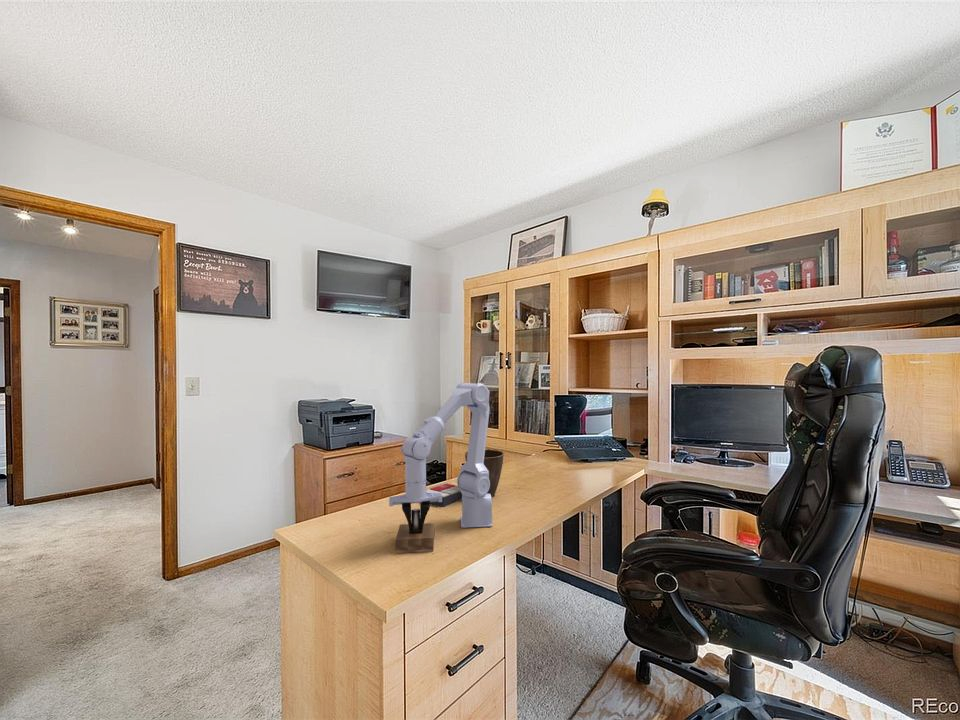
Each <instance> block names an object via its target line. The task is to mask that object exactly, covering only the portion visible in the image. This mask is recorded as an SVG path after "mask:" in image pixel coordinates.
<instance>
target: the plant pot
mask: <svg viewBox="0 0 960 720" xmlns="http://www.w3.org/2000/svg"><path fill="white" fill-rule="evenodd" d="M467 454H468V451H466V452H465V453H464V457H465V463H466V462H467ZM504 455H505V454H504V452H503V451H501V450H496V449H485V456H484V465H485V467H486V468H487V470H488V471H489V481H490V488H489V490H488V492H487V494H491V498H493V497H495V496H496V492H497V489H498V485H499V483H500V479H501V474H502V469H503V462H504Z"/></svg>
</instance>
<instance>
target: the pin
mask: <svg viewBox="0 0 960 720" xmlns="http://www.w3.org/2000/svg"><path fill="white" fill-rule="evenodd" d="M411 524H412V534H420V508H413V509H411Z"/></svg>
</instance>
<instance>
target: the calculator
mask: <svg viewBox="0 0 960 720" xmlns="http://www.w3.org/2000/svg"><path fill="white" fill-rule="evenodd" d="M426 493H441V494H442V502H430V505H431V504H432V506H434V505H435V507H438V506H439V507H440V508H442V507H443V508H446V507H447V506H449V505H451V504H453V503H456V502H458V501H462V493H461V489H459V487H458V485H456V484H451V483H444V484H440V485H437V486H434V487H431V488H429V489H426Z"/></svg>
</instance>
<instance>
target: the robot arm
mask: <svg viewBox="0 0 960 720" xmlns="http://www.w3.org/2000/svg"><path fill="white" fill-rule="evenodd" d="M490 392H491V391H490V390H489V389H488V387H487V386H486V385H485V384H484V383H482V382H479V383H470V382H469V383H468V382H459V383H458V384H456V386H455V388H453V389H452V392H451V395H450V396H449V398H448V399H447V400H446V402H445V403H444V404H443V405H442V407H441V408H440V409H439V411H438V412H437V413H436V414H435V416H428V418H425V419H424V420H423V422H424V423H423V424H422V425H420V427H419V428H418V429H417V430H416V431H414V432H413V434H412V436H408V437H406V439H405V440H404V441H403V443H402V446H401V447H400V451H401V453H402V455H403V456H404V463H405V466H404V467H405V469H404V470H405V471H404V476H405V478H404V479H405V481H404V482H405V484H404V485H405V494H401V495H396V496H388V497H389V498H388V506H389V507H393V506H399V505H401V509H402V512H403V514H404V515H405V518H406V520H407V524H408V525H409V531H412V521H411V510H412V504H419V506H420V507H419V509H420V530H423V525H424V524H425V521H426V517H427V515H428V512H429V510H430V508H431V504H430V502H442V494H441V493H426V490H427V457H428V456H429V455H430V452H431V448H432V446H433V444H434V442H435V441H436V440H437V439H438V438H439V437H440V435H441V434H442V433H443V432H444V430H445V423H447V422H448V421H449V419H450V418H451V417H452V416H454V415H455V413H456V412H458V410H459V409H461V407H467V408H468V410H470V412H471V421H470V428H469V429H470V430H469V439H468V446H467V452H468V454H467V462H466V461H465V463H464V464H463V465H461V467H460V471H459V474H458V476H457V479H456V484H457V485H456V486H458V487H459V489H461V493H462V499H461V516H460V526H461V528H467V529H468V528H488V527H491V528H492V527H493V504H492V502H493V501H492V497H491V494H487V492H488V490H489V488H490V481H489V471H488V470H487V468H486V467H485V465H484V456H485V450H486V448H487V447H486V446H487V437H488V428H489V427H488V426H489V418H490V409H491V408H490V403H489V402H490Z"/></svg>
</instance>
